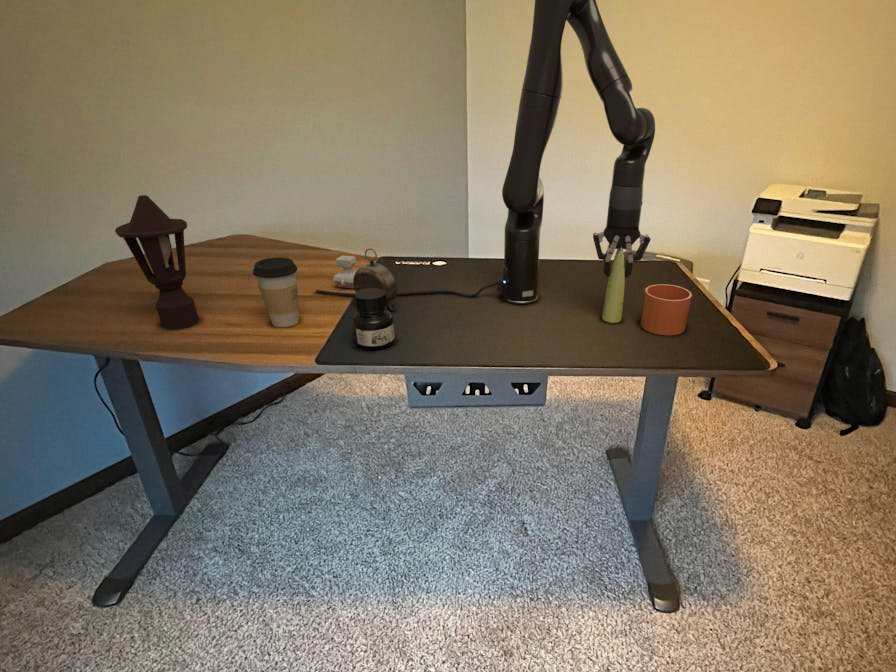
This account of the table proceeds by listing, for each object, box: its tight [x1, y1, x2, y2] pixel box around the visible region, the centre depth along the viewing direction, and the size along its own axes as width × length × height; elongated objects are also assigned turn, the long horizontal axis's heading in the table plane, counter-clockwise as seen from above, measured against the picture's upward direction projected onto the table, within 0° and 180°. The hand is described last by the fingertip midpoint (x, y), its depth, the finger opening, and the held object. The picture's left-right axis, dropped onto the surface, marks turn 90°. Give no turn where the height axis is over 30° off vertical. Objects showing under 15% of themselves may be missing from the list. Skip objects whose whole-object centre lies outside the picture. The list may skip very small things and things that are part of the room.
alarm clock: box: [353, 247, 398, 312], centre depth 143 cm, size 11×5×16 cm, turn 65°
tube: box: [601, 246, 626, 324], centre depth 140 cm, size 6×5×20 cm
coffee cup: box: [252, 256, 300, 328], centre depth 136 cm, size 10×10×15 cm
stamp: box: [332, 254, 358, 289], centre depth 160 cm, size 9×7×8 cm
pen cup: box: [639, 283, 693, 336], centre depth 140 cm, size 11×11×9 cm
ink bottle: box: [352, 288, 395, 351], centre depth 128 cm, size 10×9×12 cm
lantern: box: [114, 194, 200, 330], centre depth 131 cm, size 15×15×30 cm
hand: (616, 275), depth 139 cm, fingers closed on tube, 4 cm apart
